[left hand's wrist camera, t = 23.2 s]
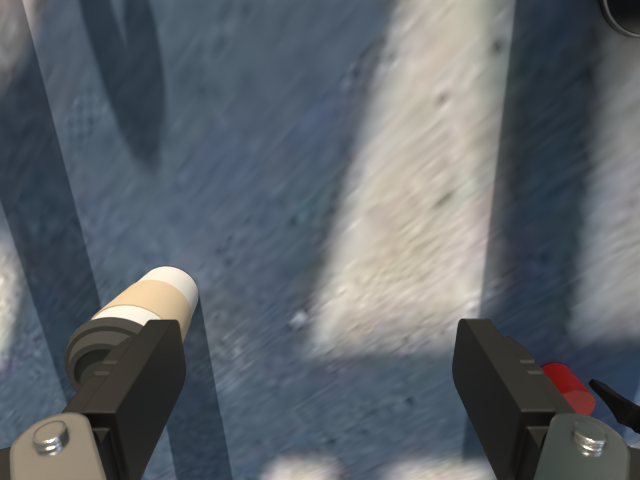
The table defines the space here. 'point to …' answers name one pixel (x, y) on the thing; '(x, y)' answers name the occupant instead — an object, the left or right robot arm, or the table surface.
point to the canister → (570, 388)
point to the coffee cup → (130, 319)
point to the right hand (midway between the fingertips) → (575, 408)
